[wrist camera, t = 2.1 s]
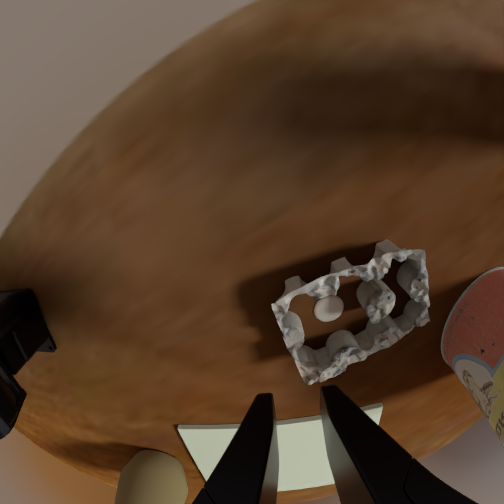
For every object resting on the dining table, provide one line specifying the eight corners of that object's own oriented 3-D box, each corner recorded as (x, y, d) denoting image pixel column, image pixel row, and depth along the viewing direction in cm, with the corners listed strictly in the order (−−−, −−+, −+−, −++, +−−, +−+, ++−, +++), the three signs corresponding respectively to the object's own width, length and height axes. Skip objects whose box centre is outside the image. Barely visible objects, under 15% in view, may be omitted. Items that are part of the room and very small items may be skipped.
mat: (214, 489, 31) (213, 493, 30) (178, 424, 26) (177, 429, 25) (362, 474, 30) (363, 477, 29) (381, 402, 25) (382, 406, 24)
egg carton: (293, 356, 23) (299, 391, 19) (264, 275, 21) (265, 304, 17) (415, 313, 22) (438, 340, 18) (405, 227, 20) (434, 245, 16)
